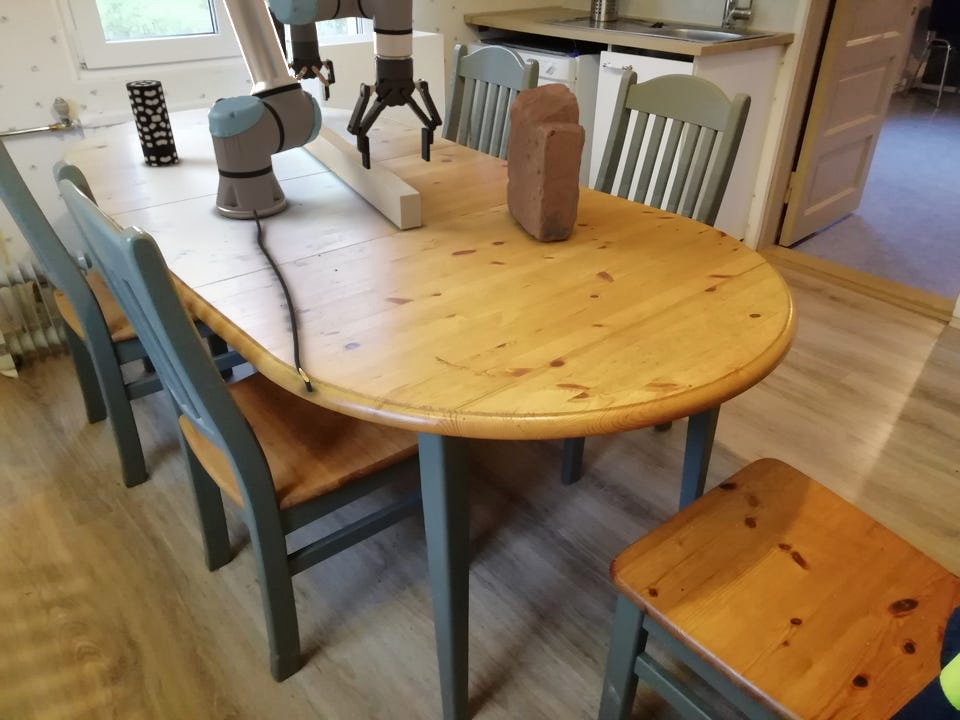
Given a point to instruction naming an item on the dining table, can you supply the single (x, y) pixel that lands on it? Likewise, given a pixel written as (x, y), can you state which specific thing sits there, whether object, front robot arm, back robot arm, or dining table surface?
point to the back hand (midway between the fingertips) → (310, 101)
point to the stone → (545, 160)
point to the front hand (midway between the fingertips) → (396, 163)
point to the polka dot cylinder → (152, 122)
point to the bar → (368, 179)
